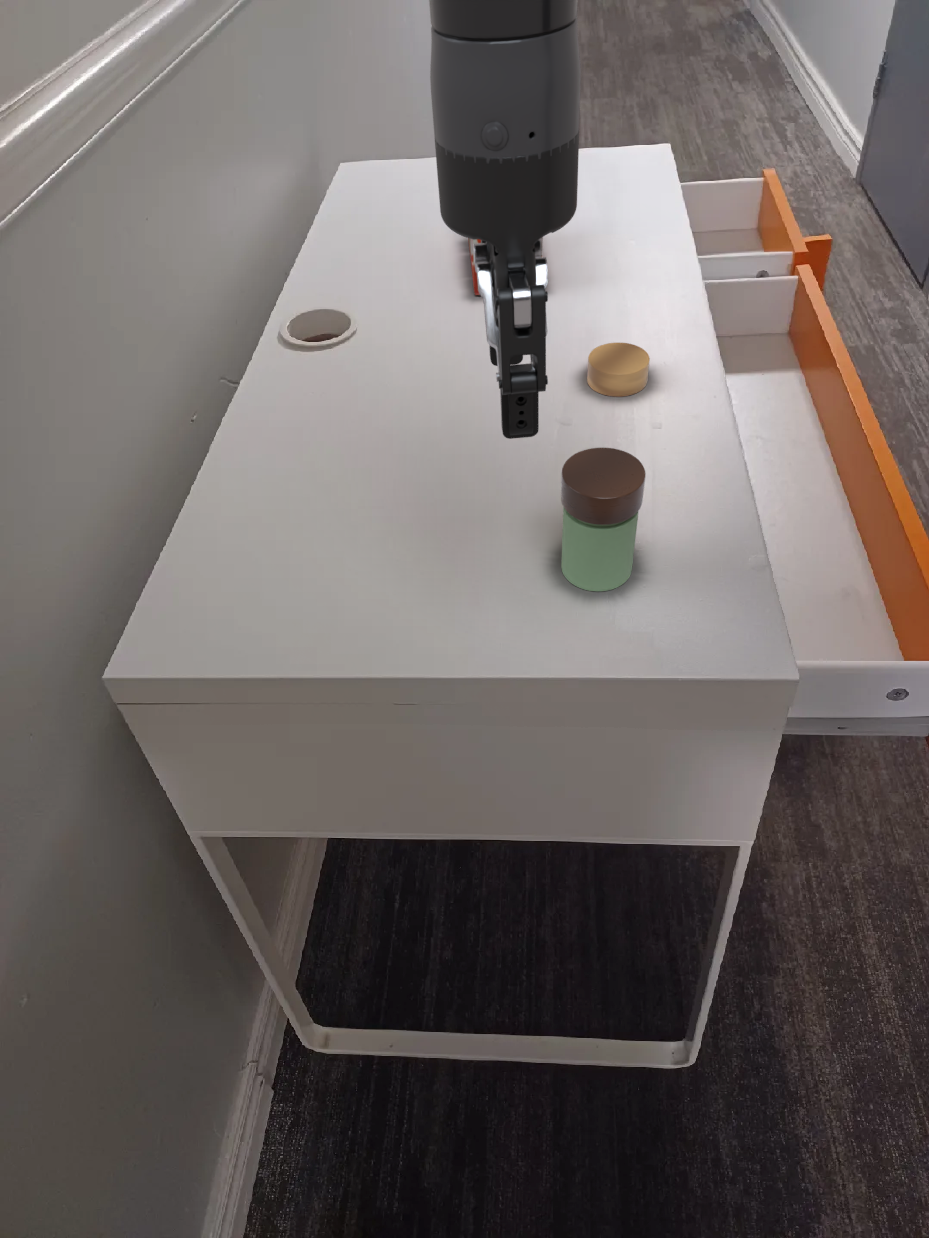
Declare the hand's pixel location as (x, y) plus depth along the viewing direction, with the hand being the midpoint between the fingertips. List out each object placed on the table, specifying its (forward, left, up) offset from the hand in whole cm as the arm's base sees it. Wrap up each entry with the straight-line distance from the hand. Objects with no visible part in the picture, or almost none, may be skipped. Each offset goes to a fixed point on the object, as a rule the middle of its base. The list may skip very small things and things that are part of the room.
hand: (512, 396), depth 57 cm
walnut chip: (-4, -6, -10) cm, 12 cm away
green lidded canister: (-4, -6, -17) cm, 18 cm away
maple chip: (+11, -29, -17) cm, 35 cm away
